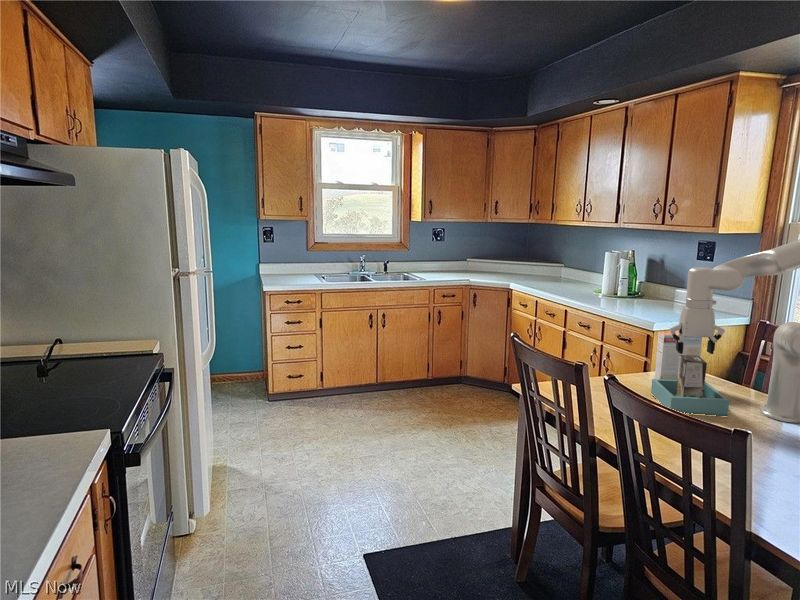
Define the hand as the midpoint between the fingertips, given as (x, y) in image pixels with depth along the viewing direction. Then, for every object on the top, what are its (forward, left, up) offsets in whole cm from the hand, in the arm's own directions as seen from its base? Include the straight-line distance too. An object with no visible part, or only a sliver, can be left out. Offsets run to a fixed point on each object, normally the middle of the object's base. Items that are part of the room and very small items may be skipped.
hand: (694, 352), depth 169 cm
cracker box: (-3, -21, -20) cm, 29 cm away
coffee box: (0, 0, -18) cm, 18 cm away
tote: (+1, 0, -19) cm, 19 cm away
